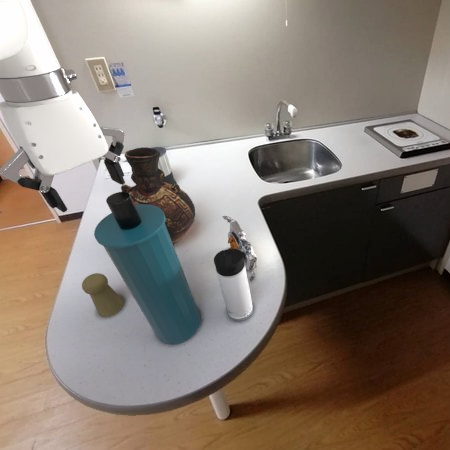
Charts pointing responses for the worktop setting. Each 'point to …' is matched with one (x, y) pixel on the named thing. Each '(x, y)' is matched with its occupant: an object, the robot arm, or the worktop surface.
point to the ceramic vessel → (159, 191)
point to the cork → (102, 295)
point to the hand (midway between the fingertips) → (91, 194)
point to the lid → (128, 222)
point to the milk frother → (164, 166)
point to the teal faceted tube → (159, 287)
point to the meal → (241, 244)
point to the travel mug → (234, 283)
